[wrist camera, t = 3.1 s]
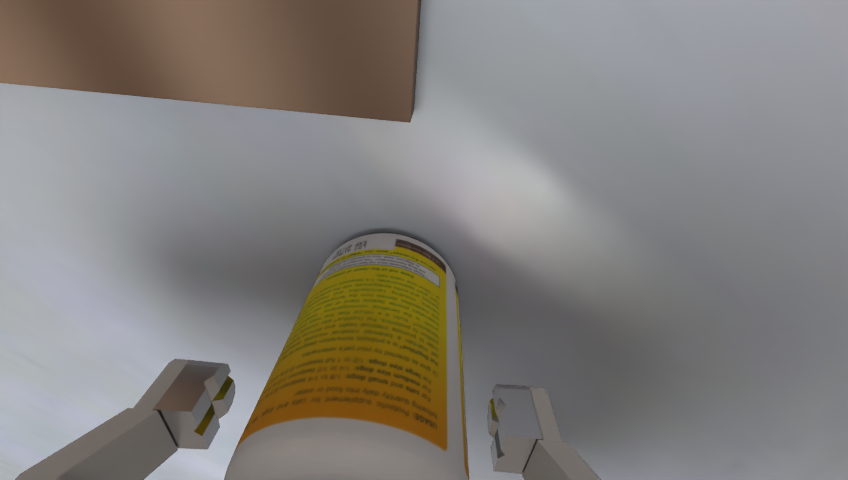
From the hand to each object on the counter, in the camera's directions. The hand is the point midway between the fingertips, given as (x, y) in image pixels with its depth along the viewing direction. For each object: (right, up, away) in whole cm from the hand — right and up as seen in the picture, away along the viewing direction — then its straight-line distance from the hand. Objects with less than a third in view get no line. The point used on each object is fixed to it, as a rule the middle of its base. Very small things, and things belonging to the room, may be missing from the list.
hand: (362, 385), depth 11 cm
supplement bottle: (0, +3, +4) cm, 5 cm away
